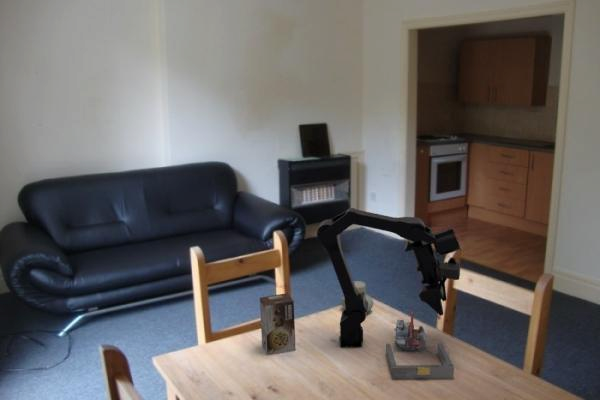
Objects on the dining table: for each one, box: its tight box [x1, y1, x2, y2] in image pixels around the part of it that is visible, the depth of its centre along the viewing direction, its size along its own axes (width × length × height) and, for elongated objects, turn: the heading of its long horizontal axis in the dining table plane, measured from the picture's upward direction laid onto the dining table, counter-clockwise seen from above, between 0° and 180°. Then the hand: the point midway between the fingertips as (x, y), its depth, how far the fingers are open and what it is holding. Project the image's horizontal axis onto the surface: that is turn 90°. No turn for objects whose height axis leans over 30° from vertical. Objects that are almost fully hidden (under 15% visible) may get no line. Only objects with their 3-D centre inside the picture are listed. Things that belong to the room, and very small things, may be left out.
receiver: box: [385, 342, 455, 380], centre depth 158 cm, size 16×14×4 cm
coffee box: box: [259, 292, 297, 356], centre depth 169 cm, size 9×6×16 cm
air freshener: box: [340, 280, 374, 313], centre depth 194 cm, size 11×8×10 cm
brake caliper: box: [393, 310, 427, 352], centre depth 170 cm, size 11×11×12 cm
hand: (443, 307), depth 166 cm, fingers open, 9 cm apart
